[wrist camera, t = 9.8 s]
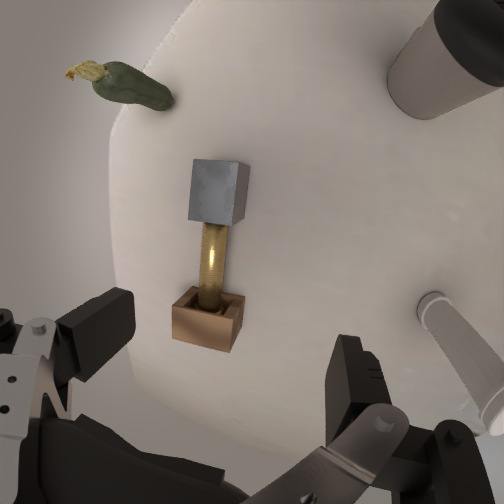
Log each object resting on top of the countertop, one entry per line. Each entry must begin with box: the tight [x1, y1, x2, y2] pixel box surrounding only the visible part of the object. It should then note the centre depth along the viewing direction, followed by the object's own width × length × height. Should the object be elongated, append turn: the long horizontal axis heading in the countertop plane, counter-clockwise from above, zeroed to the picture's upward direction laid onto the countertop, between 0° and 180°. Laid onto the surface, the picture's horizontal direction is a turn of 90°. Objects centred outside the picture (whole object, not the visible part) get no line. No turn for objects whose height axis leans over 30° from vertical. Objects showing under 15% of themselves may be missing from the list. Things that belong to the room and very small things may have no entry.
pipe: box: [417, 292, 504, 436], centre depth 21 cm, size 6×6×30 cm
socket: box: [172, 286, 245, 353], centre depth 38 cm, size 5×8×7 cm, turn 83°
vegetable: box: [65, 61, 173, 111], centre depth 26 cm, size 4×4×20 cm
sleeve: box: [188, 159, 250, 226], centre depth 34 cm, size 7×5×7 cm
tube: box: [193, 222, 228, 315], centre depth 36 cm, size 17×4×4 cm, turn 173°
